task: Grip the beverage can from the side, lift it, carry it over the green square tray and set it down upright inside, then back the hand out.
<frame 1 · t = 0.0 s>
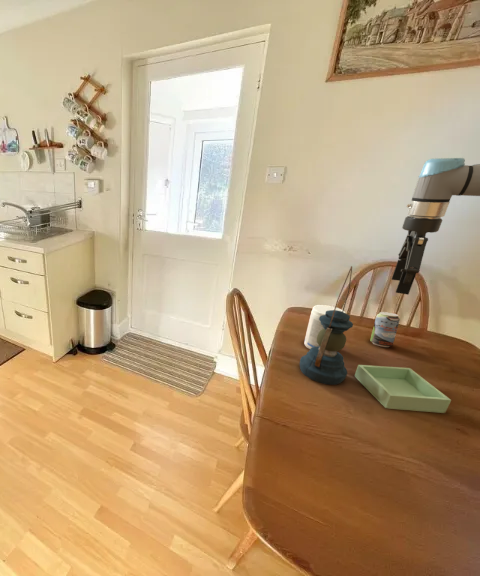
hand: (399, 286, 96), 25 cm above the table, tool pointing down, fingers open, 13 cm apart
green square tray: (395, 394, 88), on the table
lantern: (320, 374, 97), on the table
supplement tub: (319, 348, 110), on the table
beverage can: (379, 344, 111), on the table
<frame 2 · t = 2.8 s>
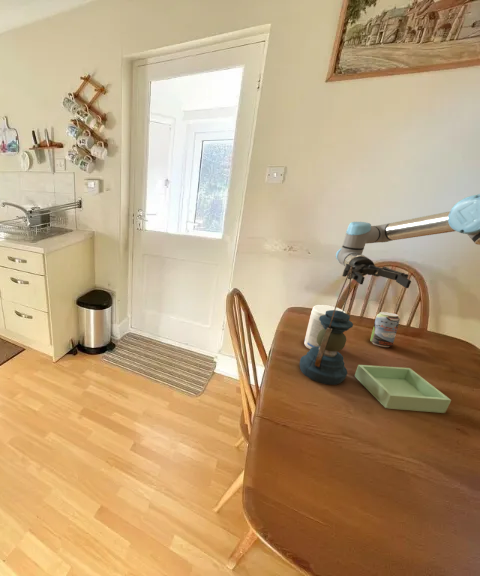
hand: (385, 282, 112), 20 cm above the table, tool horizontal, fingers open, 13 cm apart
nothing on the table moved.
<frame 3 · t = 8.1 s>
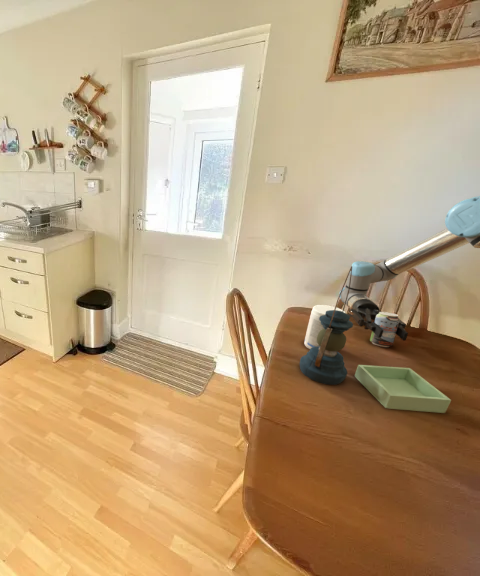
hand: (393, 335, 104), 7 cm above the table, tool horizontal, fingers closed on beverage can, 6 cm apart
beverage can: (379, 344, 111), on the table, touching gripper
everything else where it was.
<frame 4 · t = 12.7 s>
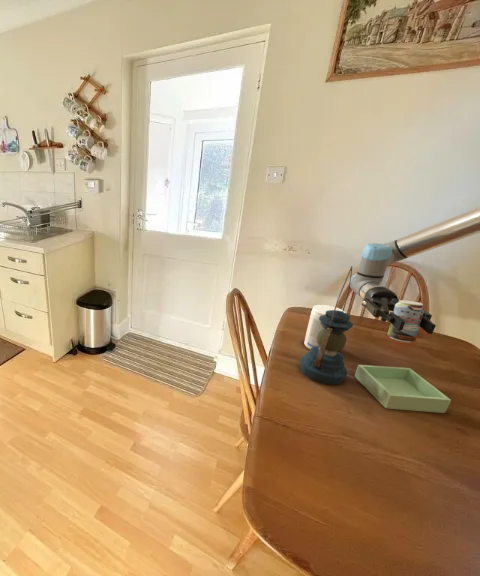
hand: (416, 327, 86), 18 cm above the table, tool horizontal, fingers closed on beverage can, 6 cm apart
beverage can: (398, 339, 93), point 11 cm above the table, touching gripper
everything else where it was.
when the fingers open (7 cm above the table, at t = 17.5 s): beverage can stays where it is, resting on green square tray.
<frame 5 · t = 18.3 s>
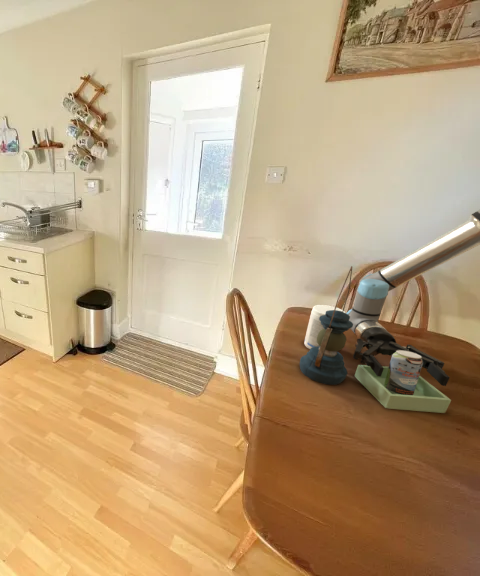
hand: (412, 376, 82), 8 cm above the table, tool horizontal, fingers open, 13 cm apart
beverage can: (395, 391, 87), point 1 cm above the table, touching green square tray
everything else where it was.
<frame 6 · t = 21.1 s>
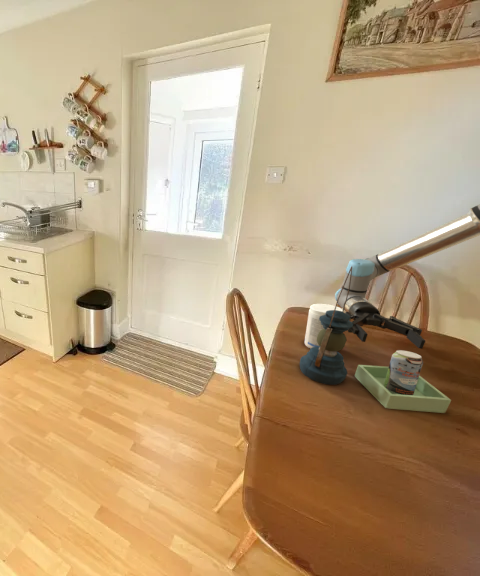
hand: (393, 341, 91), 12 cm above the table, tool horizontal, fingers open, 13 cm apart
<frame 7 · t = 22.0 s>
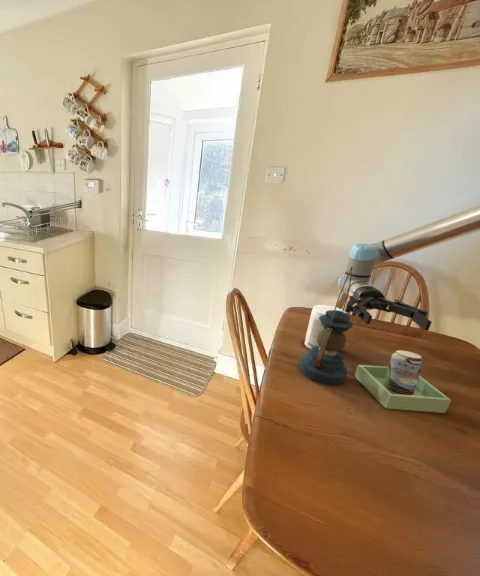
hand: (398, 323, 90), 18 cm above the table, tool horizontal, fingers open, 13 cm apart
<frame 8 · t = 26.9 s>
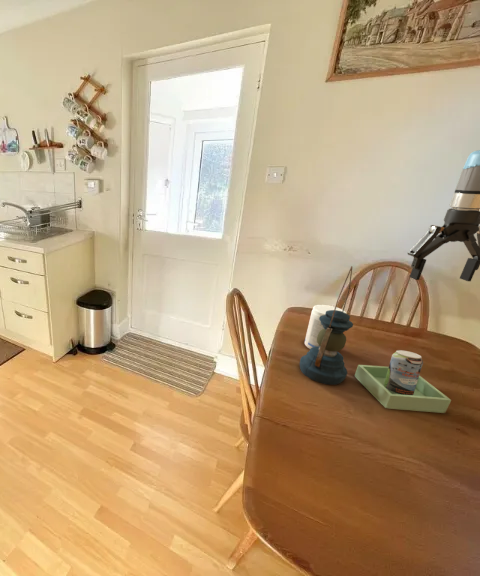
hand: (439, 279, 96), 27 cm above the table, tool pointing down, fingers open, 13 cm apart
nothing on the table moved.
at the end: beverage can inside the target area in the green square tray (0.1 cm from its centre), point 0.8 cm above the green square tray's base; beverage can tilted 0°; the gripper is holding nothing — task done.
